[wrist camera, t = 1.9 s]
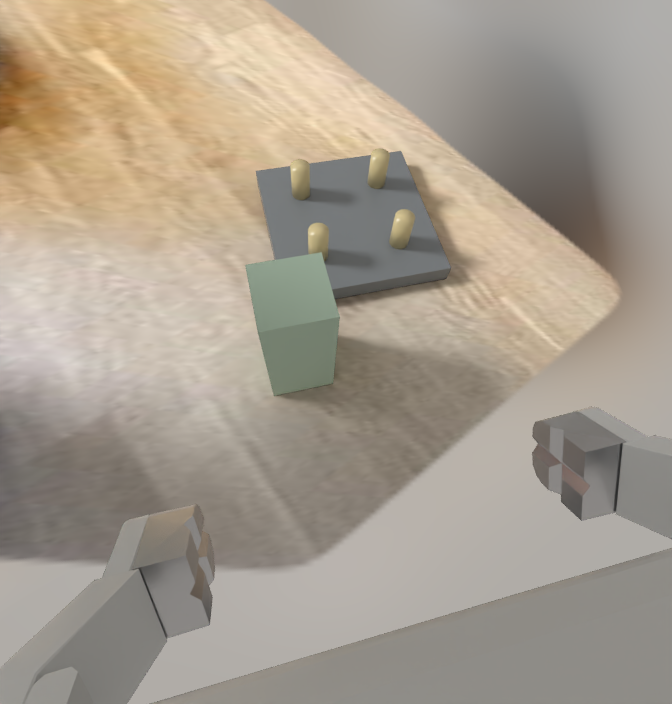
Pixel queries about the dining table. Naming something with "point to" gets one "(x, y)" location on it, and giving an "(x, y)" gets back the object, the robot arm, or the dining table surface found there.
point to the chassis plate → (354, 221)
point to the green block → (295, 321)
